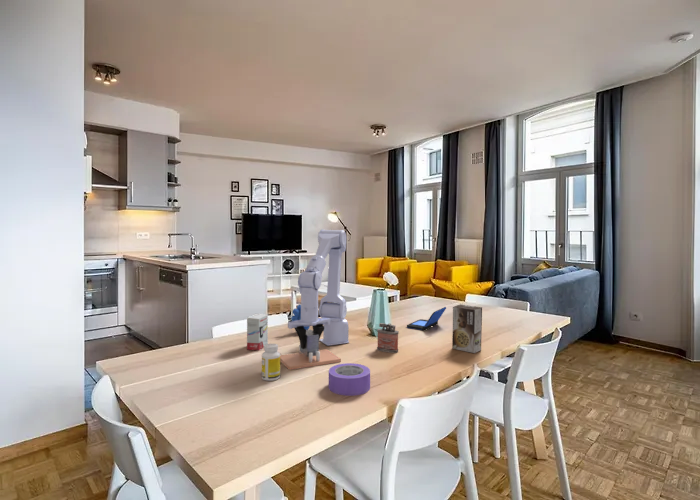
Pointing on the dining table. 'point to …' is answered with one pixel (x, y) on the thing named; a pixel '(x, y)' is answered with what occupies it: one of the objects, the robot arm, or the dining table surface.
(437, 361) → the dining table surface
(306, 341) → the grey rectangular block
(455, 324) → the coffee box
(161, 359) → the dining table surface
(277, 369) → the supplement bottle
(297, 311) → the grapes
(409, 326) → the handheld game console
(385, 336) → the lighter
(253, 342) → the ink box
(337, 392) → the tape roll
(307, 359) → the pin tray
